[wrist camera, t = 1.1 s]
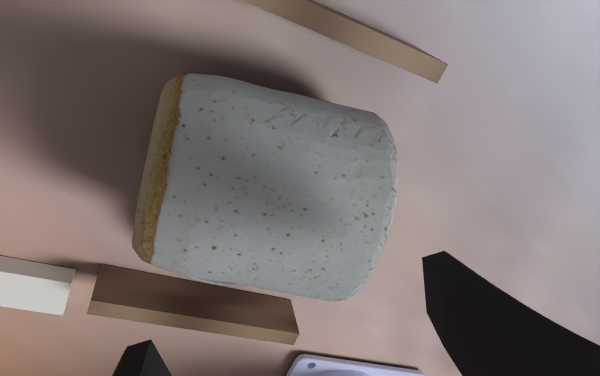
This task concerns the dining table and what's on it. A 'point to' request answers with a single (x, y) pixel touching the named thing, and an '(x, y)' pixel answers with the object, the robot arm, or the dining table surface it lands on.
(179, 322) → the walnut cradle
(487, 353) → the robot arm
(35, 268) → the grey bay
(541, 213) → the dining table surface
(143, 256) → the ceramic mug
